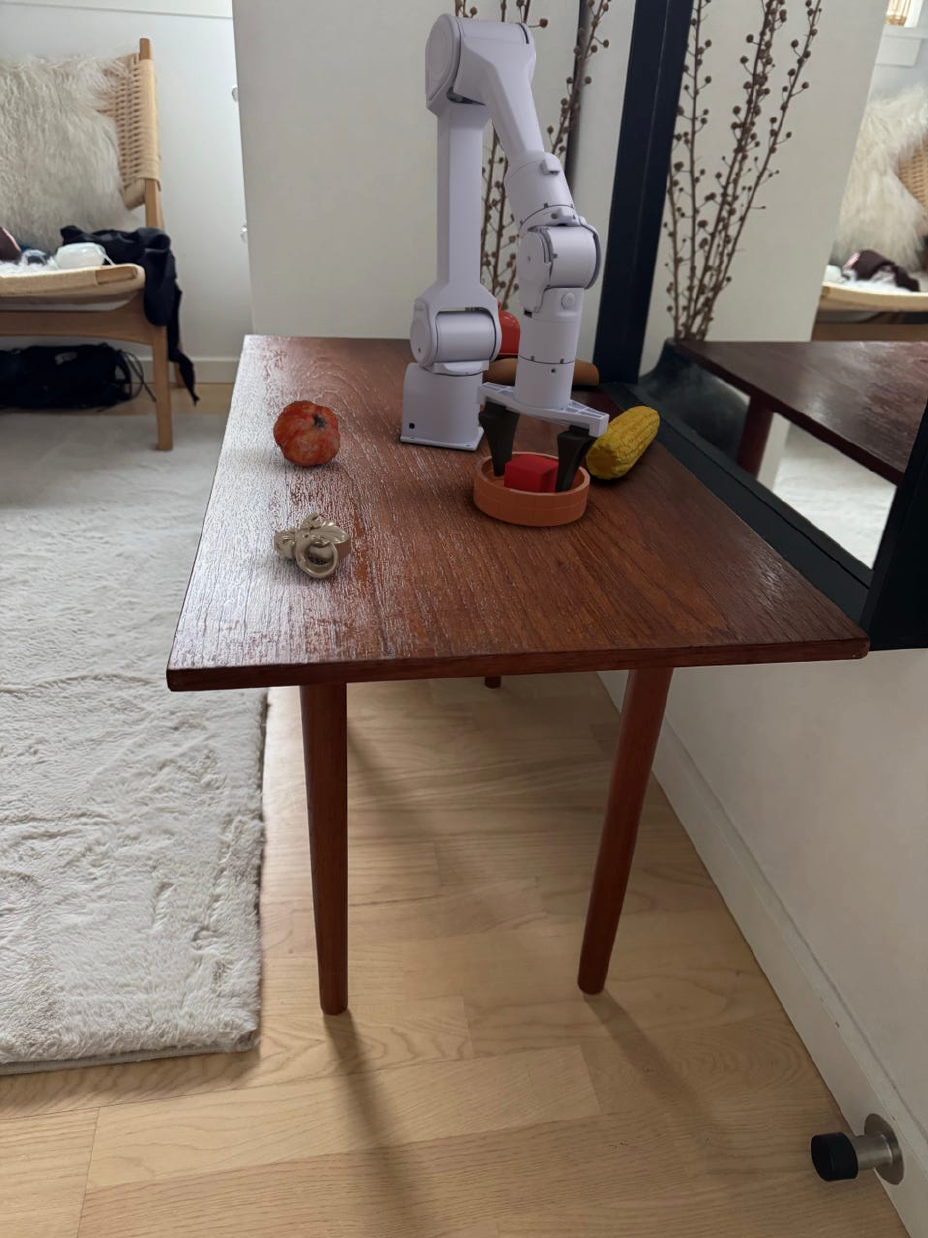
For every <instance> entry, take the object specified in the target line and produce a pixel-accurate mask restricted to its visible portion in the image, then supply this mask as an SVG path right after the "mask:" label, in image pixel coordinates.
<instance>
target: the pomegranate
mask: <svg viewBox="0 0 928 1238" xmlns="http://www.w3.org/2000/svg"><path fill="white" fill-rule="evenodd" d="M272 429H273V430H272V435H273V438H274V442H275V444H276V446H278V448H279V449H280V451H281V454H282V456H283V457H284V459H285V460H286V461H288V462H290V463H291V464H294V465H296V466H300V467H302V468H303V467H310V466H314V465H324V464H328V463H331V461H332V460H333V459H334V458H335V457H336V456H337V455H338V453H339V451H340V448H341V433H340V432H339V422H338V419H337V417H336V414H335V412H334V411H333V410H332V409H331V408H330V407H327V406H323V405H319V404H317V403H314V402H313V401H311V400H308V399H302V400H293V402H291V403H288V404H287V405H286V406H284V408H283V409H282V411H281V412H280V413H279V414H278V416H277V419H276V420H275V422H274V424H273V428H272Z"/></svg>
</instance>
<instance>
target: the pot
mask: <svg viewBox="0 0 928 1238" xmlns="http://www.w3.org/2000/svg"><path fill="white" fill-rule="evenodd" d="M526 453H528V454H531V455H535V456H538V457H541V458H545V459H548V460H551V461H555V462H558V456H555V455H551V454H548V453H540V452H533V451H512V458H511V461H512V460H514V459H516V458H518V457H520V456H522V455H524V454H526ZM504 475H505V474H504ZM504 475H503V476H501V477H497V476H494V470H493V463H492V457H491V455H487V456H485V457H484V458H482V459H480V460H479V461H477V464H476V465H475V468H474V479H473V488H472V489H473V490H472V494H473V496H472V497H473V502H474V505H475V506H476V507H477V508H478V509H479V510H480V511H481V512H483V514H486V515H488V516H490V517H492V518H494V519H497V520H500V521H503V522H506V523H510V524H514V525H519V526H527V527H556V526H563V525H567V524H570V523H573V522H575V521H577V520H579V519H580V518H582V516H583V515H584V514H585V511H586V508H587V501H588V495H589V489H590V482H591V476H590V474H589V473H588V471H587V469H585V468H584V467H582V466H580V467H579V469H578V471H577V474H576V476H575V478H574V481H573V483H572V486H571V489H570V490H569V491H566V492H558V493H532V492H524V491H518V490H514V489H511V488H507V487H503V485H504Z"/></svg>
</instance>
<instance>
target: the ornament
mask: <svg viewBox="0 0 928 1238" xmlns="http://www.w3.org/2000/svg"><path fill="white" fill-rule="evenodd" d="M319 516H320V515H319V513H318V512H317V511H314V512H312V513H310V514H308V515H307V516H306V517H305V518H304V519H303V521H302V523H301V524H300V525H299V529H298V528H296V527H293V528H290V529H289V530H288V531H286V530H285V529H282V530H280V531H277V532H276V533H275V535H274V536H273V538H272V540H273V541H272V542H273V549H274V550H275V551H276V552H277V553H278V554H280V555H284V556H285V557H286V558H287V559H289V560H293V559H295V561H296V563H297V566H298V567H299V568H300V570H301V571H303V572H304V573H306V574H307V575H308V576H310V577H311V578H314V579H326V578H328V577H330V576H332V575H333V574H334V573H335V571H336V570H338V569H339V568H340V562H341V561H342V560H344V559H345V558H347V557H349V555H350V553H351V552H350V551H351V537H350V534H349V532H348V531H347V530H345V529H344V528H343V527H340V526H339V525H336V523H335V522H334V521H333V520H332V519H330V518H327V517H326V518H325V519H324V520H323V522H321V521H320V520H318V518H319ZM309 557H313V558H315V559H317V560H321V561H323V562H326V563H324V564H316V563H315V562H312V561H311V560H310V559H309Z"/></svg>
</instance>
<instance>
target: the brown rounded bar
mask: <svg viewBox="0 0 928 1238" xmlns="http://www.w3.org/2000/svg"><path fill="white" fill-rule="evenodd" d="M517 362H518V358H502V359H499V360H495V361H493V362H491V363H489V370H485V371H483V378H482V384H484V383H487V382H489V383H493V384H498V385H503V386H510V387H514V386H515V381H516V372H517ZM599 381H600V373H599V369H598V368H597V366H596V365H595V364H593V362H590V361H589V362H588V361H585V360H580V359H575V365H574V373H573V380H572V386H589V387H591V388H593V389H594V390H597V389H598V388H599V384H600V382H599Z"/></svg>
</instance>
